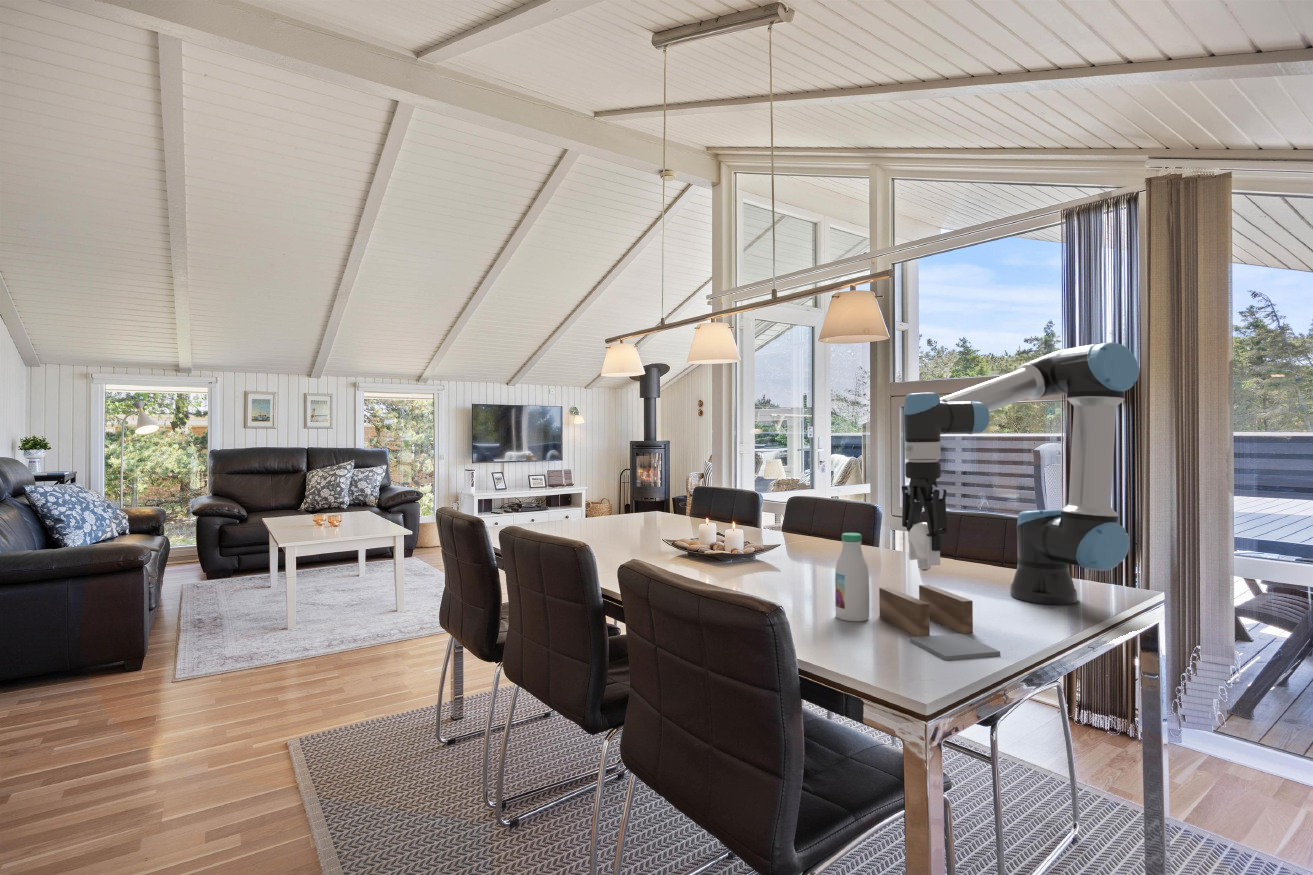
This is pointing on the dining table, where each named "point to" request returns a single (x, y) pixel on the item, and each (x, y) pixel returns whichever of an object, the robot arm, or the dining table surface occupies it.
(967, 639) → the grey pad
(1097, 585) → the dining table surface
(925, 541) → the lightbulb
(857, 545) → the milk bottle
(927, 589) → the walnut slot
